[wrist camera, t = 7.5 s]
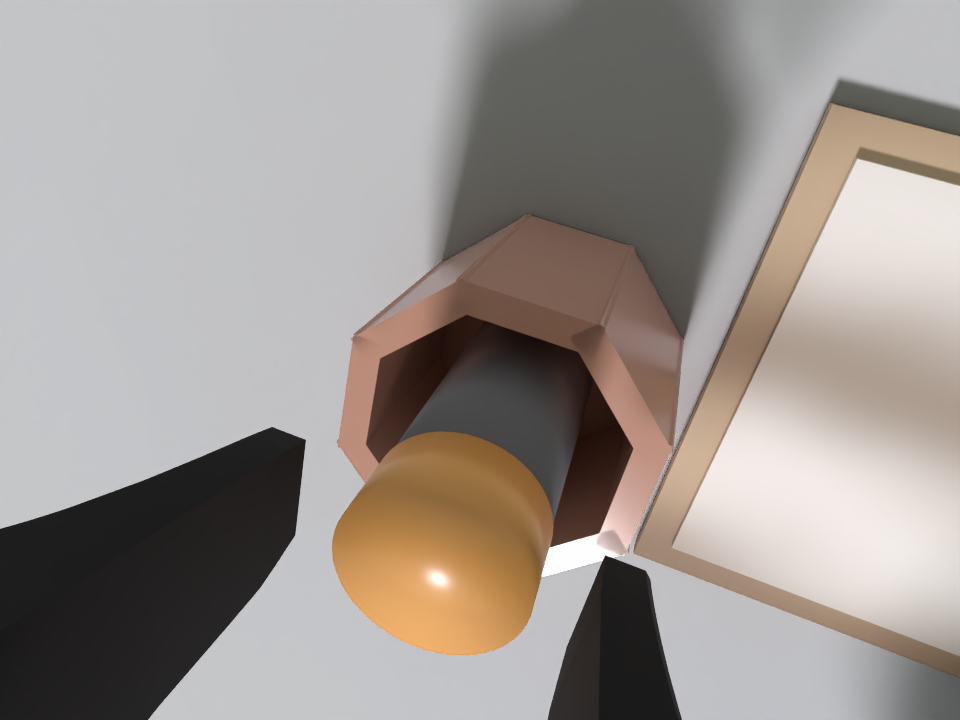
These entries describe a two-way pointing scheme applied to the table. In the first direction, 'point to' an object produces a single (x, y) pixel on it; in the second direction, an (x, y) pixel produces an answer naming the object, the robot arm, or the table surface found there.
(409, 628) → the marker
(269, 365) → the table surface
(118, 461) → the table surface
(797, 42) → the table surface
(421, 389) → the pen cup
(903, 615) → the wooden picture frame
